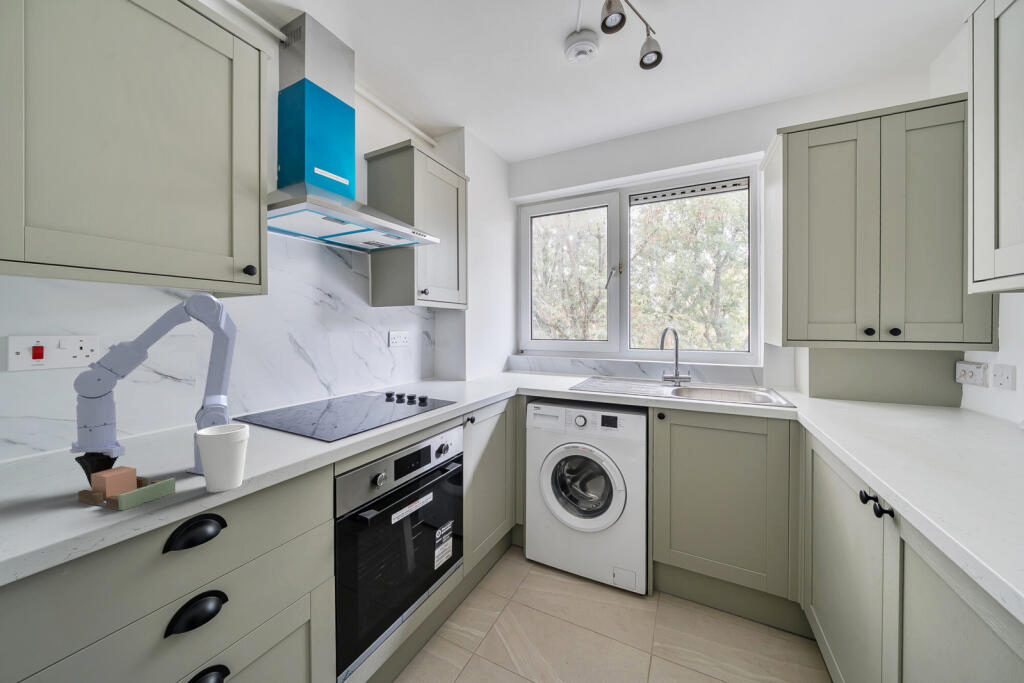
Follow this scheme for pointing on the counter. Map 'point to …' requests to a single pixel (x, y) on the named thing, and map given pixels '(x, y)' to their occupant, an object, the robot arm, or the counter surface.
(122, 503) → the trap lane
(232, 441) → the foam cup
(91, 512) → the counter surface
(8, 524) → the counter surface
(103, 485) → the terracotta block
